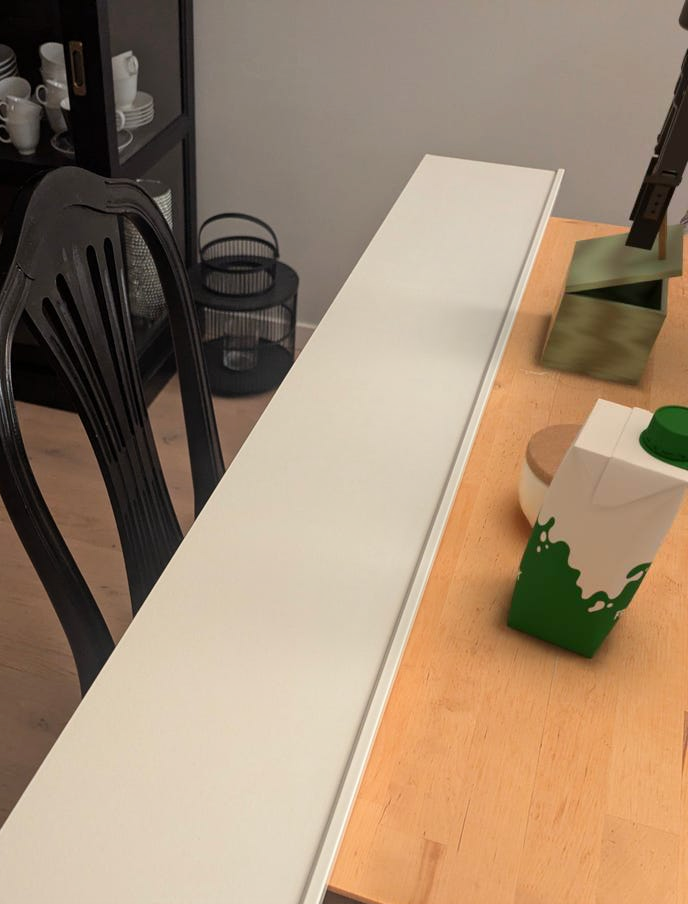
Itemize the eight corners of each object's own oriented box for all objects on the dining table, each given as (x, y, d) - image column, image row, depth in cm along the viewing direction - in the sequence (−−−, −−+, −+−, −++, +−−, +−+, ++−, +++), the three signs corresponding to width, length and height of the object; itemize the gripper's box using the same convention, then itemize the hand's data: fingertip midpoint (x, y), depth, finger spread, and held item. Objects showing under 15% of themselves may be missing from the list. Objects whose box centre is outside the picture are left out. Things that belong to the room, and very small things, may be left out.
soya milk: (599, 670, 73) (711, 463, 59) (490, 627, 76) (571, 419, 62) (623, 606, 79) (730, 402, 64) (520, 568, 81) (601, 364, 67)
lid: (683, 230, 105) (685, 146, 99) (682, 276, 96) (684, 186, 90) (576, 247, 110) (572, 168, 105) (565, 293, 101) (560, 209, 96)
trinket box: (622, 573, 82) (665, 488, 75) (501, 548, 83) (533, 463, 76) (617, 503, 89) (655, 420, 82) (505, 482, 90) (535, 398, 84)
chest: (640, 335, 114) (669, 266, 108) (635, 386, 105) (667, 314, 99) (551, 316, 116) (574, 248, 110) (539, 364, 107) (563, 293, 101)
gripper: (694, -42, 92) (611, 197, 108) (692, -4, 78) (597, 261, 95) (774, -32, 90) (677, 208, 106) (786, 8, 77) (673, 276, 93)
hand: (639, 233), depth 100 cm, fingers closed on lid, 7 cm apart
